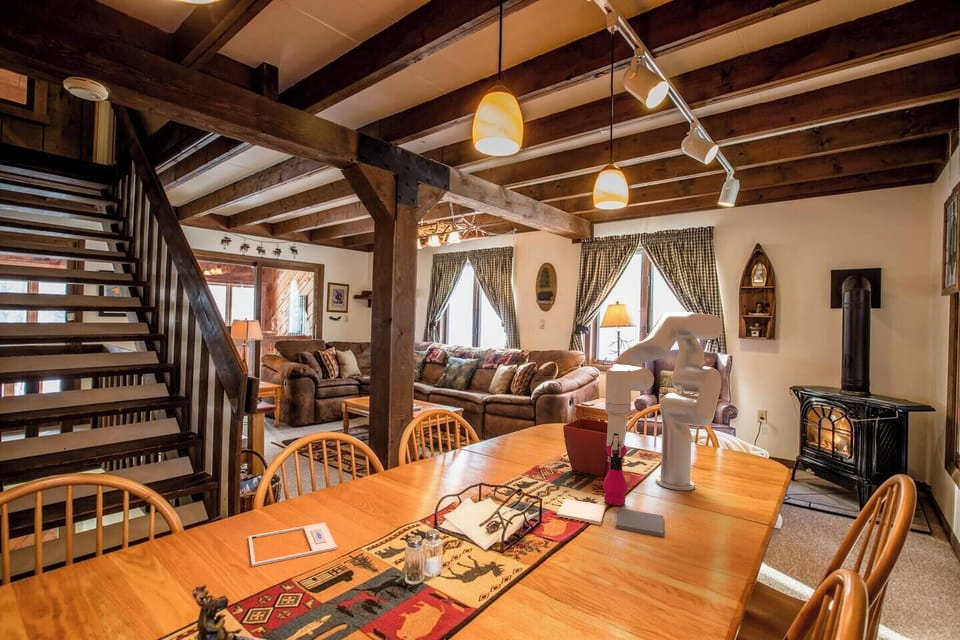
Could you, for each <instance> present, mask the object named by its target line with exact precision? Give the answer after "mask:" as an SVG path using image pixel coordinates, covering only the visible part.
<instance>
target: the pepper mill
mask: <svg viewBox="0 0 960 640" xmlns="http://www.w3.org/2000/svg"><path fill="white" fill-rule="evenodd" d="M618 439H619V437H618ZM618 447H620V445H618ZM611 448H612V443H611V446H609V447H608V446H607V448H606V450H607V453H608V455H609V456H608V462H609V471H608V474H607V476H606V477H604V480H603V484H602V488H603V489H602V490H603V491H604V492H605V493H604V494H603V495H604V496H603V500H604V502H605V503H607V504H609V505H614V506H623V505H625V504H626V496H625V495H626V493H627V492H628V484H627V481H626V479H625V475H624V472H623V471H624V470H623V467H624V464H625V463H626V462H625V460H626V459H625V456H626V455H627V452H628V451H627V447H626V445H625V444H624V446H623V447H622V448H621V457H622V469H621V471H619V470H611V469H610V462H611ZM618 450H619V449H618Z"/></svg>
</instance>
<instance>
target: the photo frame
mask: <svg viewBox="0 0 960 640" xmlns="http://www.w3.org/2000/svg"><path fill="white" fill-rule="evenodd" d="M300 530H301V531H302V530H304V533H305V534H304V535H305V536H306V539H307V541H308V544H309V547H310V551H305V552H298V553H295V554H290V555H285V556H280V557H275V558H270V559H266V560H261V561H256V560H255V559H256V558H255V552H254V551H255V550H254V544H253V538H257V539H258V538H262V537H268V536H274V535H281V534H284V533H289V532H290V533H291V532H296V531H300ZM247 538H248V539H247V540H248V544H249V555H250V563H251V567H257V566H263V565H268V564H272V563H277V562H282V561H287V560H292V559H297V558H301V557H306V556H307V557H308V556H311V555H312V556H313V555H317V554H321V553H327V552H331V551H335V550H338V546H337V544H336V542H335V540H334V538H333V536H332V534H331V532H330V530H329V528H328V526H327V524H326V522H320V523H319V522H318V523H315V524H309V525H303V526H299V527H298V526H297V527H292V528H291V527H290V528H287V529H281V530H275V531H270V532H264V533H259V534H254V535H248V536H247Z"/></svg>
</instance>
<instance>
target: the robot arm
mask: <svg viewBox="0 0 960 640" xmlns="http://www.w3.org/2000/svg"><path fill="white" fill-rule="evenodd" d="M723 327H724V326H723V322H722V320H721V318H720V317H719V316H718V315H716V314H713V313H712V314H708V313H699V312H698V313H697V312H681V311H680V312H676V311H675V312H666V313H664V314H663V315H662V316H660V318H659V319H658V320H657V322H656V323H655V324H654V325H653V327H652V329H651V330H650V332H649V333H648V334H647V335H646V337H645V338H644V339H643V340H641V341H639V342H638V343H637V342H636V344H634V345H632V346H630V347H629V348H627V349H626V350H624V351H622V352H621V353H620V354H619V355H618V356H617V358H615V360H614V361H613V363H612V365H611V366H610V368H607V369H606V372H605V405H604V410H605V414H607V422H608V427H607V446H608V447H609V446H611V443H612V448H611V462H610V469H611V470H619V471H621V469H622V457H621V448H622V447H623V446H624V445H625V441H626V436H627V431H626V426H627V417H628V416H630V415H631V413H632V411H631V410H632V407H631V406H632V391H635V392H644V391H648V390H650V388H652V386H653V385H654V382H655V377H654V374H653V372H652V371H651V370H650V369H649V368H646V367H643V366H639V365H642V364H643V363H648V362H653V361H656V360H659V359H662V358H664V357H666V356H667V355H669V353H670V351H671V350H672V348H673V346H674V345H675V344H676V343H677V346H678V353H677V357H676V361H675V365H674V368H673V372H672V376H671V377H672V378H671V384H672V387H674V389H676V390H679V391H680V392H687V393H693V394H698V396H695V395H690V394H683V393H679V392H678V393H677V392H669V393H666V394H665V395H663V396H662V398H660V403H659V410H660V415H661V416H660V417H661V428H662V429H661V451H660V453H661V457H660V458H661V459H660V475H658V476H656V477H655V483H656V484H657V485H659V486H661V487H663V488H666V489H670V490H676V491H692V490H694V489H695V488H696V483H695V482H694V481H692V480H691V469H692V468H691V467H692V466H691V464H692V463H691V462H692V461H691V460H692V442H693V441H692V439H693V438H692V437H693V436H692V432H691V429H690V426H689V425H691V426H698V427H708V426H710V424H711V423H712V422H713V420H714V418H715V413H716V410H717V405H718V403H719V402H718V401H719V397H720V393H721V388H722V376H721V374H720V372H719V371H718V369H716V368H714V367H711V366H705V365H703V364H704V359H705V352H704V348H703V347H702V345H701V343H700V342H699V341H698V339H699V340H715V339H717V338H719V337H720V335H721V334H722V333H723ZM618 437H619V439H618ZM618 445H620V447H618ZM618 449H619V450H618Z"/></svg>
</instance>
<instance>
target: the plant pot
mask: <svg viewBox="0 0 960 640" xmlns="http://www.w3.org/2000/svg"><path fill="white" fill-rule="evenodd" d="M607 427H608V421H603V420H595V419H588V418H582V417H581V418H578V419H575V420H572V421H570V422H568V423H566V424H564V425H562V430H563V437H564V444H565V448H566V452H567V453H566V454H567V457H568V461H569V464H570V467H571V469H572V471H574V472H579V473H583V474H586V475H587V474H588V475H591V476H597V477H599V478H600V477H601V478H606V476H607V474H608V471H609V462H608V456H609V455H608V453H607V450H606V448H607ZM627 430H628V425H626V432H627Z"/></svg>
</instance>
